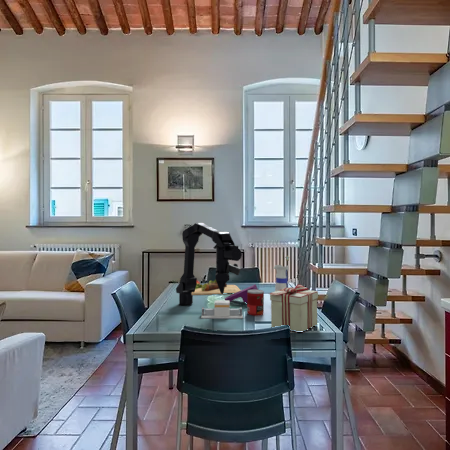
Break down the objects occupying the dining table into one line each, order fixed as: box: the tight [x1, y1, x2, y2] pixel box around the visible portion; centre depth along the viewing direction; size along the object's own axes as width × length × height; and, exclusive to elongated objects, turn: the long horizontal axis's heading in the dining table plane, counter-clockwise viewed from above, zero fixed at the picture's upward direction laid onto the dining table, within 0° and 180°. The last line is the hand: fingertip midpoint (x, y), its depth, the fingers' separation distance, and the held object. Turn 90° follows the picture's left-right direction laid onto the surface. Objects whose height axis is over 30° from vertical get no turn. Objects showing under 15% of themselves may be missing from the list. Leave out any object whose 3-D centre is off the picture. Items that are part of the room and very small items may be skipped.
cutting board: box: [192, 279, 242, 296], centre depth 241 cm, size 35×23×8 cm
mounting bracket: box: [224, 284, 259, 303], centre depth 209 cm, size 10×8×18 cm
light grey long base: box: [200, 306, 244, 319], centre depth 181 cm, size 19×9×4 cm, turn 91°
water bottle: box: [272, 255, 291, 292], centre depth 214 cm, size 8×9×25 cm
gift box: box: [269, 284, 319, 331], centre depth 164 cm, size 17×18×17 cm
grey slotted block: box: [213, 299, 231, 316], centre depth 181 cm, size 7×6×6 cm
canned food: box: [246, 289, 265, 317], centre depth 185 cm, size 8×8×11 cm
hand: (222, 292), depth 181 cm, fingers open, 6 cm apart
